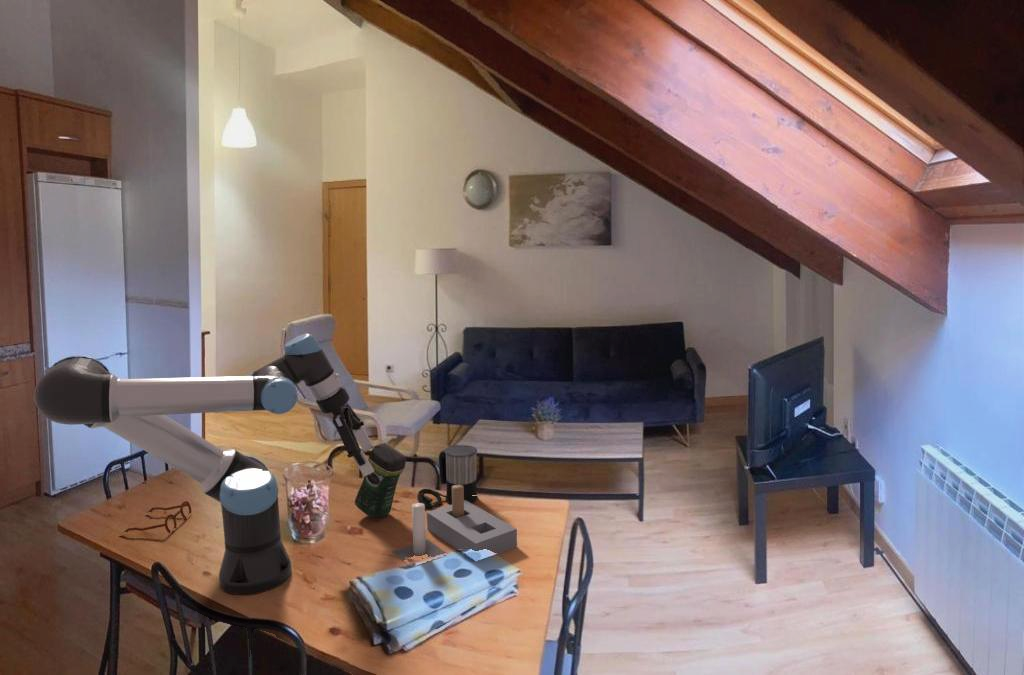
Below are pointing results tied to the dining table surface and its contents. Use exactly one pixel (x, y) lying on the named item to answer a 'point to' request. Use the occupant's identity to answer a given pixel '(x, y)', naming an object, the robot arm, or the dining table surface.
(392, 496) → the coffee jar
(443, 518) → the block
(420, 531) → the peg
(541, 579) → the dining table surface
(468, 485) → the milk frother
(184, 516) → the glasses
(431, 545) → the mat
